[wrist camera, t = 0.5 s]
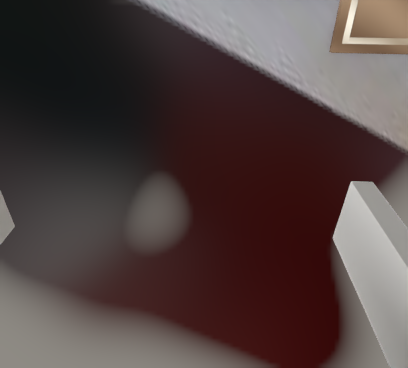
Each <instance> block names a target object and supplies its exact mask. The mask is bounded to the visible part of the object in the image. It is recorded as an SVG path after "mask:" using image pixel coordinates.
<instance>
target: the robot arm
mask: <svg viewBox="0 0 408 368" xmlns="http://www.w3.org/2000/svg"><path fill="white" fill-rule="evenodd" d="M14 227H15V226H14V223H13V221H12V218H11V216H10V213H9V211H8V209H7V206H6V204H5V201H4V199H3V196H2V194H1V191H0V244H1V243H2V242H3V240H4V239H5V238H6V237H7V235H8V234H9V233H10V232H11V230H12V229H13V228H14ZM333 240H334V242H335V244H336V247H337V249H338V251H339V253H340V256H341V258H342V260H343V262H344V265H345V267H346V269H347V271H348V274H349V276H350V278H351V280H352V282H353V285H354V287H355V289H356V292H357V294H358V296H359V298H360V301H361V303H362V305H363V307H364V310H365V312H366V314H367V317H368V319H369V321H370V323H371V325H372V328H373V330H374V332H375V335H376V337H377V339H378V341H379V344H380V346H381V348H382V351H383V353H384V355H385V357H386V359H387V362H388V364H389V366H390V368H408V228H407V227H406V225H405V224H404V223H403V222H402V220H401V219H400V218H399V216H398V215H397V214H396V212H395V211H394V210H393V208H392V207H391V206H390V204H389V203H388V202H387V200H386V199H385V198H384V196H383V195H382V194H381V192H380V191H379V190H378V189H377V187H376V186H375V184H373V182H358V181H351V184H350V187H349V190H348V193H347V196H346V199H345V202H344V205H343V208H342V211H341V214H340V217H339V220H338V223H337V226H336V230H335V233H334V236H333Z"/></svg>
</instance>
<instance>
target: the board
mask: <svg viewBox="0 0 408 368" xmlns="http://www.w3.org/2000/svg"><path fill="white" fill-rule="evenodd" d="M329 52H331V53H376V54H408V0H340V4H339V8H338V13H337V18H336V23H335V27H334V32H333V37H332V42H331V46H330V51H329Z"/></svg>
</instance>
